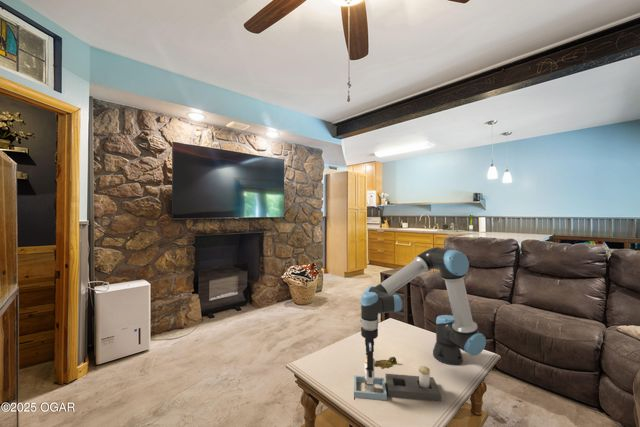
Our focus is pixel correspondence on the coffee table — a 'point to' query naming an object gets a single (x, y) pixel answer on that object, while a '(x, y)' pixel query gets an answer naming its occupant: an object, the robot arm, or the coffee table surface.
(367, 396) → the parts tray
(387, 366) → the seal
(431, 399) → the fuse holder
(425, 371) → the fuse
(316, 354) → the coffee table surface
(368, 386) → the cylinder
